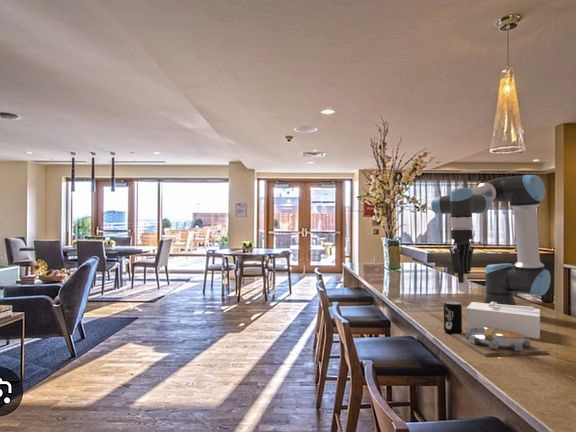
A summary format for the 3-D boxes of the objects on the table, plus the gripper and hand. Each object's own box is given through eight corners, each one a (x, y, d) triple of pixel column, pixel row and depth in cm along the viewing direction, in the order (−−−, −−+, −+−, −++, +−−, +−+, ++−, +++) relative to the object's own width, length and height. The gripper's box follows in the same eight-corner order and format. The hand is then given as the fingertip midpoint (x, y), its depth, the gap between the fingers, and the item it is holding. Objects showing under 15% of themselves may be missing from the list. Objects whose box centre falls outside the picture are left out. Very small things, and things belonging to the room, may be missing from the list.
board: (507, 335, 147) (507, 331, 147) (548, 353, 126) (548, 350, 126) (452, 336, 145) (452, 333, 145) (484, 356, 124) (484, 352, 124)
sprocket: (479, 329, 149) (479, 314, 150) (538, 341, 134) (537, 324, 134) (455, 340, 136) (455, 323, 136) (517, 355, 121) (517, 336, 121)
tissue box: (472, 321, 168) (471, 296, 168) (540, 330, 154) (539, 303, 154) (466, 329, 156) (466, 302, 156) (539, 339, 142) (539, 310, 142)
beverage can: (463, 335, 146) (463, 304, 146) (445, 334, 148) (445, 303, 148) (459, 330, 153) (459, 300, 153) (442, 329, 154) (442, 300, 154)
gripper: (461, 228, 151) (463, 287, 151) (442, 229, 144) (443, 291, 144) (480, 228, 145) (481, 290, 145) (461, 229, 137) (462, 294, 137)
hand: (462, 291), depth 144 cm, fingers closed
